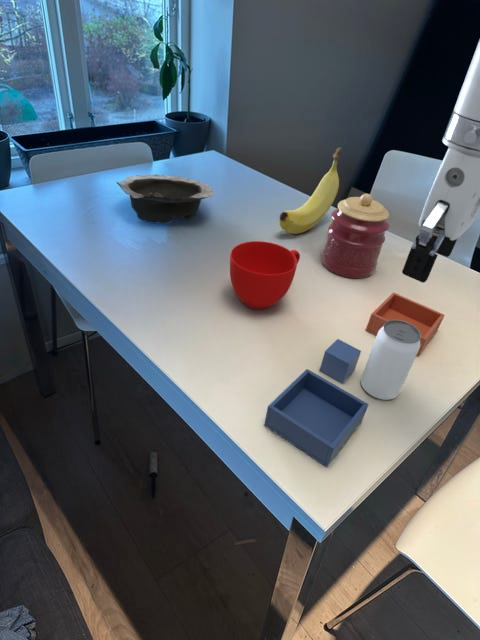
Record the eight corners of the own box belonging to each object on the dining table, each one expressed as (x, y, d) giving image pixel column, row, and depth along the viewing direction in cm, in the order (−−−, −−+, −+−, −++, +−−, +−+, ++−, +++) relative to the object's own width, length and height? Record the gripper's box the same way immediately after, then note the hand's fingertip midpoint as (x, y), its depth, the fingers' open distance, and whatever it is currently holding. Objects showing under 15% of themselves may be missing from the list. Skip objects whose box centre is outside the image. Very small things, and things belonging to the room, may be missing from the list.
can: (403, 384, 76) (428, 329, 68) (392, 407, 71) (418, 350, 64) (367, 368, 78) (387, 312, 71) (354, 389, 73) (374, 332, 66)
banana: (286, 244, 112) (301, 164, 100) (269, 235, 115) (281, 157, 103) (335, 221, 127) (353, 149, 115) (318, 214, 130) (334, 143, 118)
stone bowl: (138, 237, 107) (135, 199, 102) (109, 204, 125) (105, 170, 119) (229, 223, 117) (231, 188, 112) (191, 194, 135) (190, 162, 130)
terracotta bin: (437, 331, 89) (444, 314, 86) (418, 356, 82) (426, 339, 79) (387, 308, 94) (393, 292, 91) (365, 330, 87) (371, 313, 84)
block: (354, 370, 77) (361, 350, 74) (342, 383, 74) (349, 363, 71) (331, 357, 79) (337, 338, 76) (319, 370, 76) (324, 350, 73)
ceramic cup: (314, 299, 94) (324, 257, 88) (255, 327, 84) (262, 282, 78) (271, 271, 101) (278, 231, 95) (212, 294, 91) (216, 251, 85)
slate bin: (361, 422, 68) (368, 404, 65) (327, 467, 61) (333, 449, 58) (302, 386, 73) (306, 368, 70) (263, 425, 66) (267, 406, 63)
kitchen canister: (358, 286, 100) (381, 211, 89) (310, 263, 106) (326, 191, 95) (384, 266, 108) (407, 197, 97) (338, 246, 114) (355, 178, 104)
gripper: (496, 158, 43) (431, 301, 54) (530, 132, 55) (471, 254, 65) (422, 138, 47) (375, 276, 57) (468, 117, 58) (422, 235, 69)
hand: (426, 264), depth 61 cm, fingers open, 9 cm apart
